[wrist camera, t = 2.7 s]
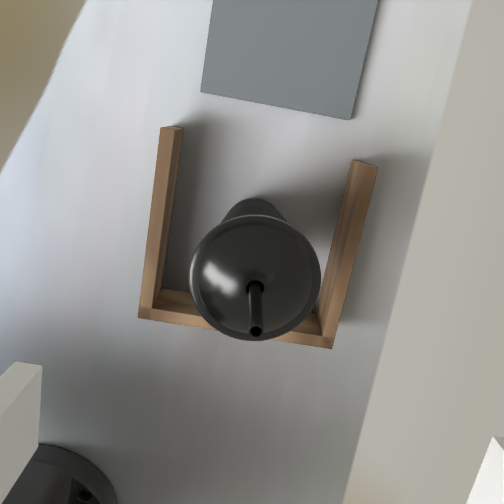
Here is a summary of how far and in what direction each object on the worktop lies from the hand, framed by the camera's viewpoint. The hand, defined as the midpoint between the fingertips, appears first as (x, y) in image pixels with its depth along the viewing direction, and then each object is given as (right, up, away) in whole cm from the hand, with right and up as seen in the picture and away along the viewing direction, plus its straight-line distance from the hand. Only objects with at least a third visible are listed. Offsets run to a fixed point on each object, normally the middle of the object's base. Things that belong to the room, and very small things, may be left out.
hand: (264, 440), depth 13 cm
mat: (+3, +23, +22) cm, 31 cm away
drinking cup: (0, +8, +26) cm, 27 cm away
